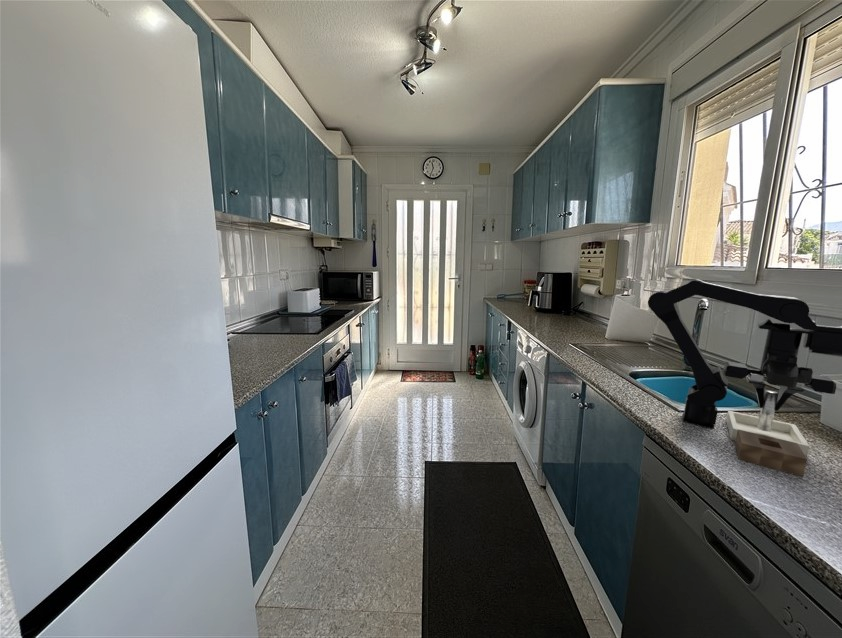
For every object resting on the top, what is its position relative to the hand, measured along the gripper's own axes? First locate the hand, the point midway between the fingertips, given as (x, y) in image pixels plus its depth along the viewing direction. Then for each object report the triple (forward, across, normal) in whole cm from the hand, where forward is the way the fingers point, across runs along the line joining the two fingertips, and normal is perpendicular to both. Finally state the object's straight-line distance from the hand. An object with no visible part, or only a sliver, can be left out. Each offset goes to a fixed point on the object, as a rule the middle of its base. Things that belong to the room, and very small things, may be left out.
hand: (768, 408), depth 86 cm
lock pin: (+6, 0, 0) cm, 6 cm away
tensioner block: (+8, -1, -13) cm, 15 cm away
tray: (+8, 0, 0) cm, 8 cm away
